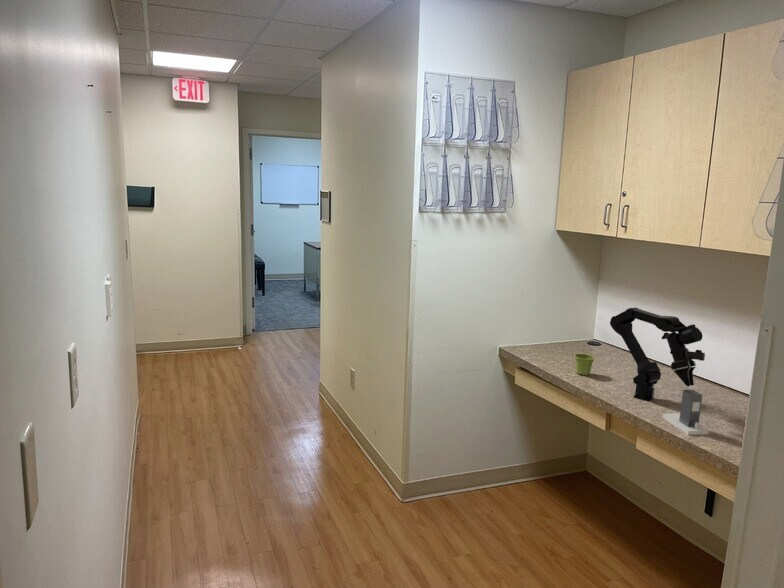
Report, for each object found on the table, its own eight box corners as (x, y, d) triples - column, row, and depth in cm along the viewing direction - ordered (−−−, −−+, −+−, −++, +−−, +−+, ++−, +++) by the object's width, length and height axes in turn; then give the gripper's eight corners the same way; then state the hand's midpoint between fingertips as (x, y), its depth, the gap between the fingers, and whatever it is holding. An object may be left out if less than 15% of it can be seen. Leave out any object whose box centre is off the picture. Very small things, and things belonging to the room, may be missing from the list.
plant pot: (585, 370, 281) (587, 353, 279) (597, 376, 272) (599, 358, 271) (568, 371, 279) (570, 353, 277) (579, 377, 270) (581, 359, 268)
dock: (662, 417, 225) (663, 407, 224) (681, 416, 226) (682, 407, 225) (687, 434, 209) (689, 424, 208) (708, 434, 210) (709, 424, 209)
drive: (679, 421, 218) (683, 389, 215) (688, 420, 218) (693, 389, 216) (688, 427, 212) (692, 395, 210) (698, 427, 213) (702, 395, 210)
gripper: (695, 341, 218) (709, 381, 214) (702, 342, 233) (715, 380, 229) (665, 349, 224) (678, 388, 220) (673, 349, 239) (686, 386, 235)
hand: (690, 385), depth 226 cm, fingers open, 9 cm apart
